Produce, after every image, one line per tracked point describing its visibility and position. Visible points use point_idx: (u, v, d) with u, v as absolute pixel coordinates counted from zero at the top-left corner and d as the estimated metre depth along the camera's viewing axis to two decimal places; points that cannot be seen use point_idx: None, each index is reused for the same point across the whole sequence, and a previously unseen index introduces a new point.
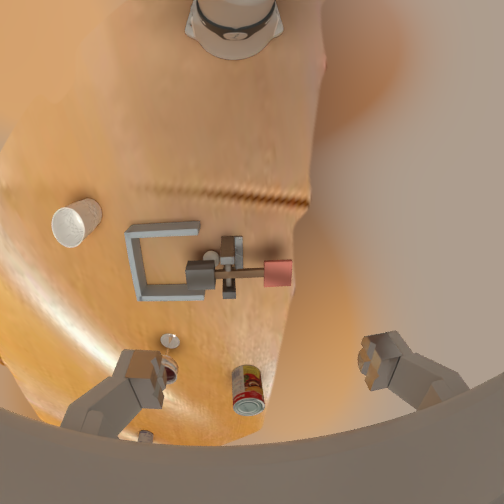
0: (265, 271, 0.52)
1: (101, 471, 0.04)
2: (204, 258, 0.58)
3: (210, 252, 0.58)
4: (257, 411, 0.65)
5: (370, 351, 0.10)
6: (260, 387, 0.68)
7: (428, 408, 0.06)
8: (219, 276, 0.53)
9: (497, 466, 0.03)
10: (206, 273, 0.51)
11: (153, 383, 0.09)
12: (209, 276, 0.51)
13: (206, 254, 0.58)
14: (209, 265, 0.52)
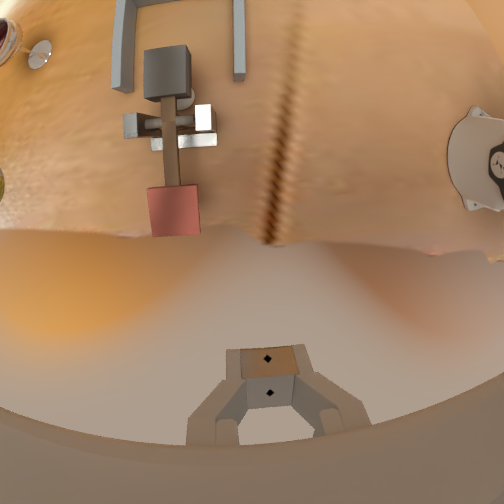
0: (178, 188, 0.27)
1: (101, 471, 0.04)
2: None
3: (193, 94, 0.30)
4: None
5: None
6: None
7: (428, 408, 0.06)
8: (165, 105, 0.24)
9: (497, 466, 0.03)
10: (177, 80, 0.22)
11: (270, 380, 0.09)
12: (171, 86, 0.22)
13: None
14: (188, 87, 0.24)
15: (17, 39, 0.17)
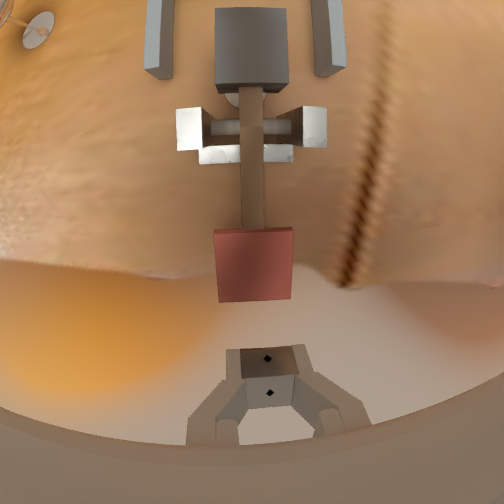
0: (265, 234, 0.18)
1: (101, 471, 0.04)
2: None
3: None
4: None
5: None
6: None
7: (428, 408, 0.06)
8: (247, 100, 0.15)
9: (497, 466, 0.03)
10: (274, 61, 0.13)
11: (270, 380, 0.09)
12: (263, 69, 0.13)
13: None
14: None
15: (6, 2, 0.08)
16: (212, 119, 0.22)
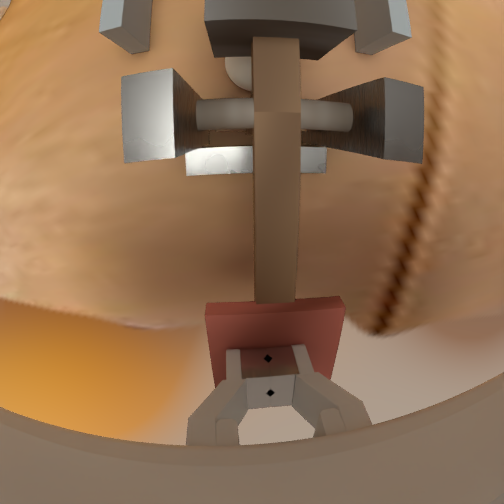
0: (297, 315, 0.10)
1: (101, 471, 0.04)
2: None
3: None
4: None
5: None
6: None
7: (428, 408, 0.06)
8: (269, 61, 0.07)
9: (497, 466, 0.03)
10: None
11: (270, 380, 0.09)
12: None
13: None
14: None
15: None
16: None
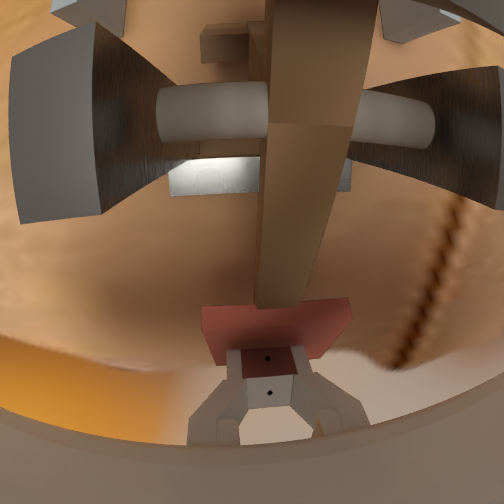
0: (300, 325, 0.09)
1: (101, 471, 0.04)
2: None
3: None
4: None
5: None
6: None
7: (428, 408, 0.06)
8: (309, 25, 0.03)
9: (497, 466, 0.03)
10: None
11: (270, 380, 0.09)
12: None
13: None
14: None
15: None
16: None
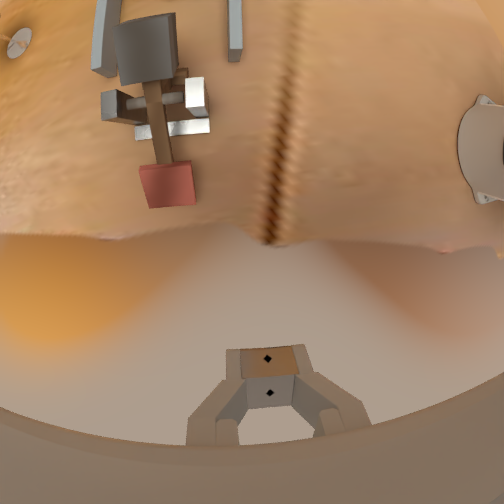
0: (171, 168, 0.25)
1: (101, 471, 0.04)
2: None
3: None
4: None
5: None
6: None
7: (428, 408, 0.06)
8: (148, 85, 0.19)
9: (497, 466, 0.03)
10: (160, 63, 0.16)
11: (270, 380, 0.09)
12: (153, 70, 0.17)
13: None
14: (174, 62, 0.18)
15: None
16: None
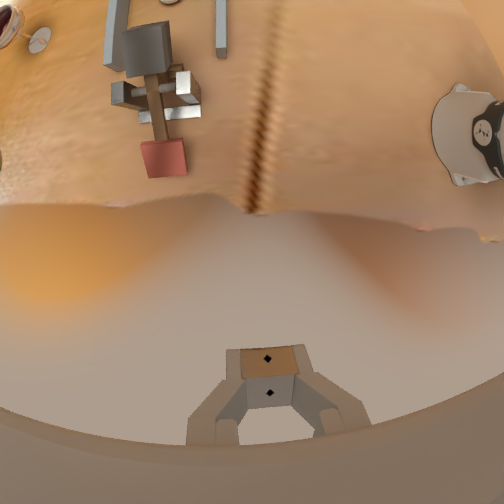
0: (166, 144, 0.30)
1: (101, 471, 0.04)
2: None
3: None
4: None
5: None
6: None
7: (428, 408, 0.06)
8: (148, 78, 0.24)
9: (497, 466, 0.03)
10: (156, 61, 0.21)
11: (270, 380, 0.09)
12: (151, 66, 0.22)
13: None
14: (168, 60, 0.23)
15: (19, 23, 0.17)
16: None
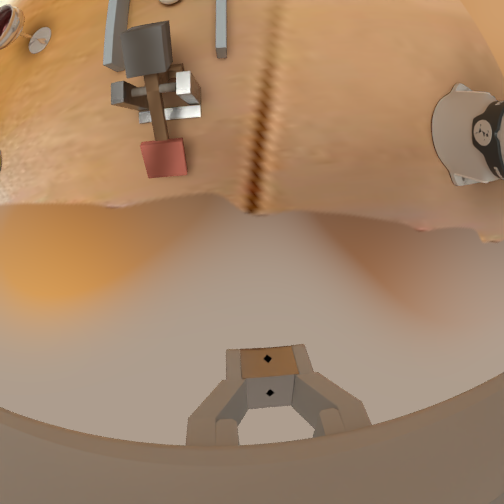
0: (166, 144, 0.30)
1: (101, 471, 0.04)
2: None
3: None
4: None
5: None
6: None
7: (428, 408, 0.06)
8: (148, 78, 0.24)
9: (497, 466, 0.03)
10: (156, 61, 0.21)
11: (270, 380, 0.09)
12: (151, 66, 0.22)
13: None
14: (168, 60, 0.23)
15: (19, 23, 0.17)
16: None
